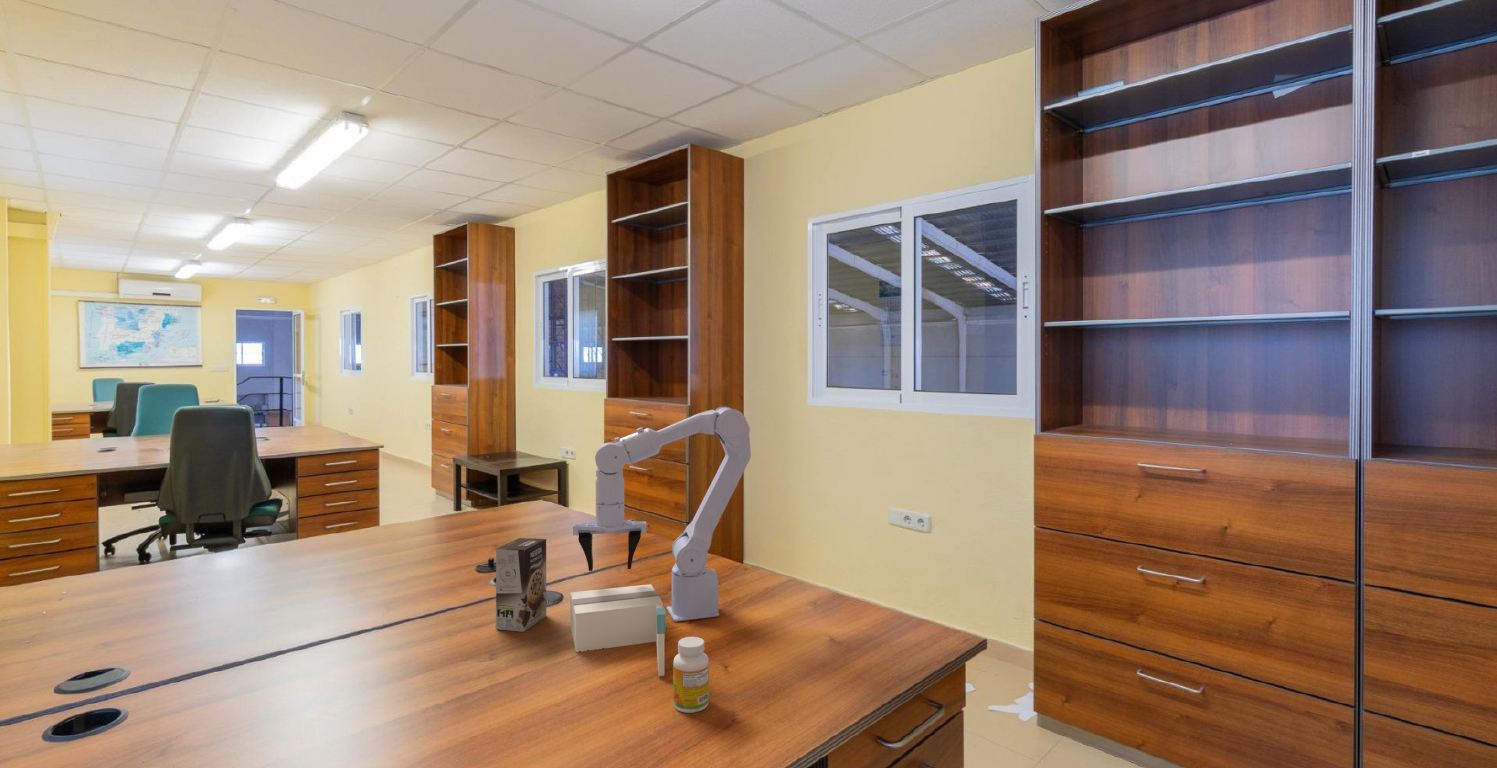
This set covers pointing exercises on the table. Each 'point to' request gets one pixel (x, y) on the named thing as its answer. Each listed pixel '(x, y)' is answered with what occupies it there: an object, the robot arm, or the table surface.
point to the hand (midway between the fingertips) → (610, 568)
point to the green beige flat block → (660, 637)
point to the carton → (614, 617)
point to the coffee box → (520, 584)
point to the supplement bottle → (690, 676)
